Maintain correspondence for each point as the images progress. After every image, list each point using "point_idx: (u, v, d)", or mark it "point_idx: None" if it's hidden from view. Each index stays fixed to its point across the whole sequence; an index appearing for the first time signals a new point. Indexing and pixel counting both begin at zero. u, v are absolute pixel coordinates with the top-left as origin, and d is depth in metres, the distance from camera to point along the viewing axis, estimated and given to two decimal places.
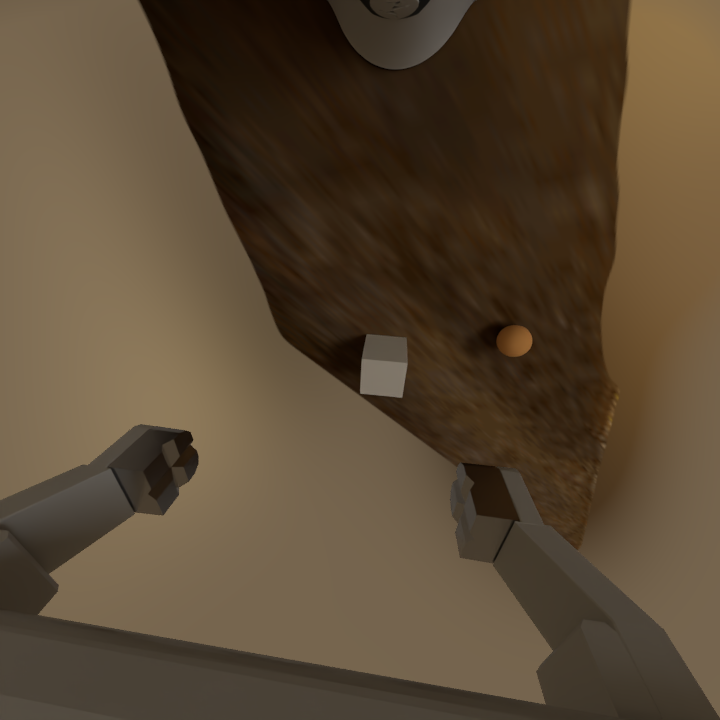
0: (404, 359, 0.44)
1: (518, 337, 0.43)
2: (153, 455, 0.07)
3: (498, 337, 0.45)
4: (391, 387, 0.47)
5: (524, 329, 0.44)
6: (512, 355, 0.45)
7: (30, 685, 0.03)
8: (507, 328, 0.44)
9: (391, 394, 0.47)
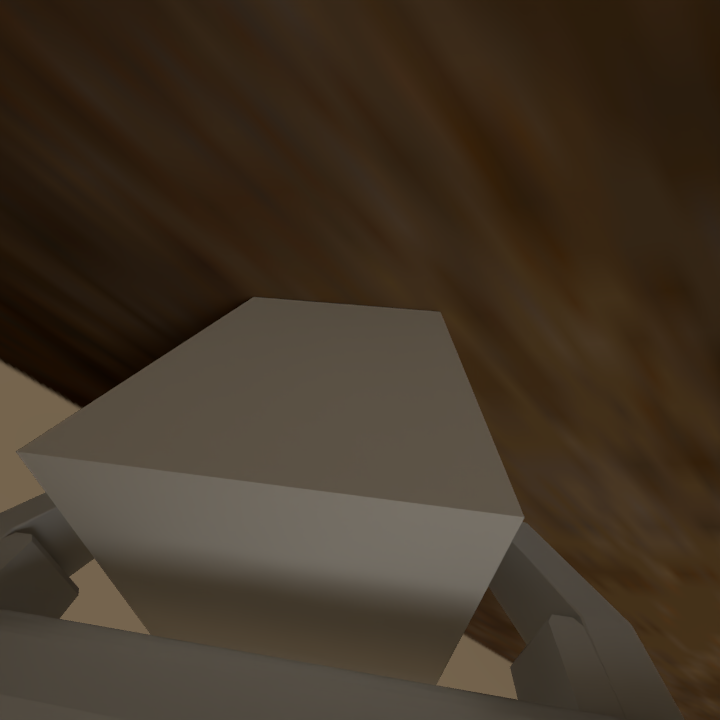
0: (471, 456, 0.04)
1: None
2: None
3: None
4: (354, 649, 0.06)
5: None
6: None
7: (30, 685, 0.03)
8: None
9: None
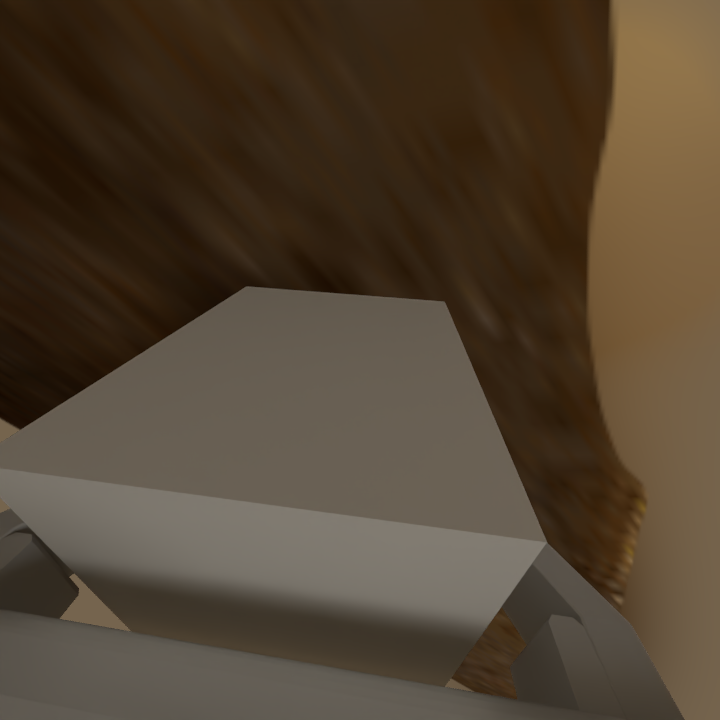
0: (482, 466, 0.04)
1: None
2: None
3: None
4: (353, 661, 0.06)
5: None
6: None
7: (30, 685, 0.03)
8: None
9: None
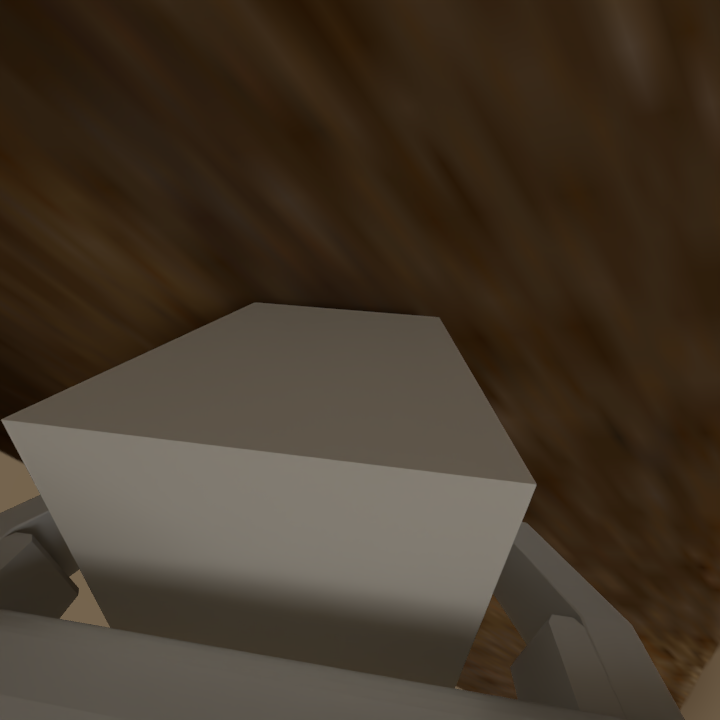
0: (476, 432, 0.04)
1: None
2: None
3: None
4: (352, 667, 0.06)
5: None
6: None
7: (30, 685, 0.03)
8: None
9: None
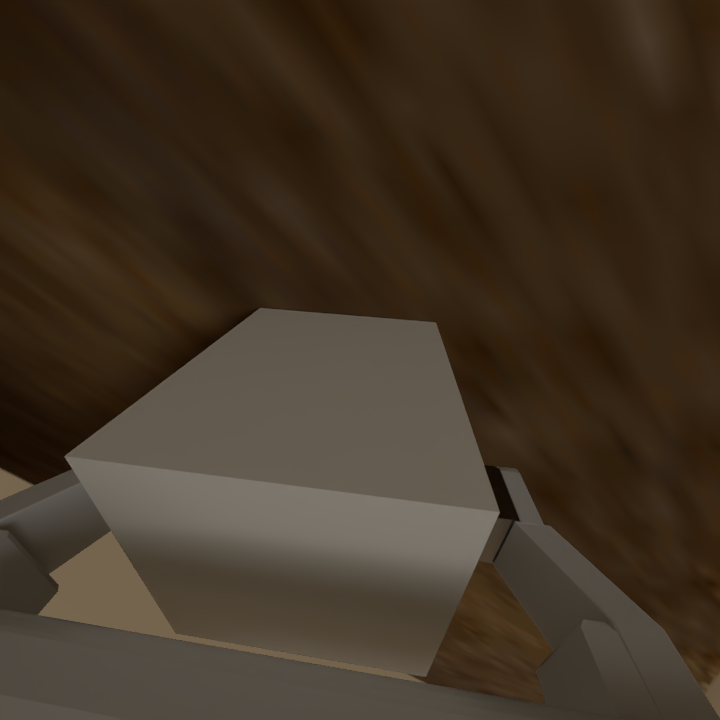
0: (457, 460, 0.05)
1: None
2: None
3: None
4: (355, 634, 0.07)
5: None
6: None
7: (30, 685, 0.03)
8: None
9: (359, 658, 0.07)
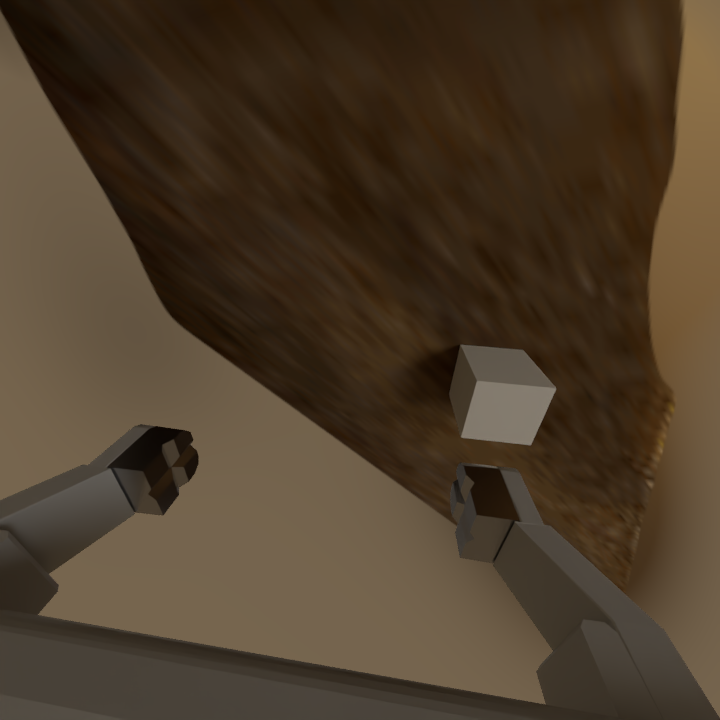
0: (546, 382, 0.27)
1: None
2: (153, 455, 0.07)
3: None
4: (516, 428, 0.28)
5: None
6: None
7: (30, 685, 0.03)
8: None
9: (513, 439, 0.29)
